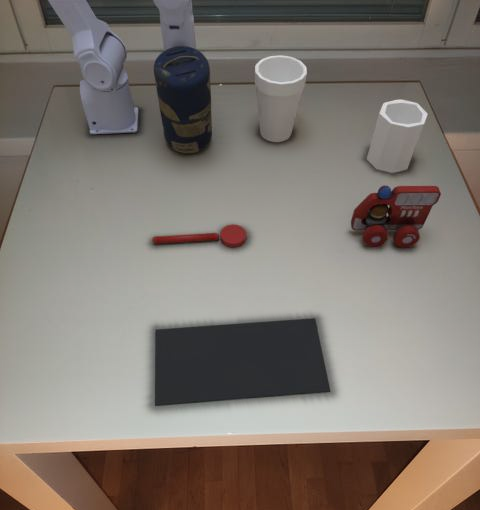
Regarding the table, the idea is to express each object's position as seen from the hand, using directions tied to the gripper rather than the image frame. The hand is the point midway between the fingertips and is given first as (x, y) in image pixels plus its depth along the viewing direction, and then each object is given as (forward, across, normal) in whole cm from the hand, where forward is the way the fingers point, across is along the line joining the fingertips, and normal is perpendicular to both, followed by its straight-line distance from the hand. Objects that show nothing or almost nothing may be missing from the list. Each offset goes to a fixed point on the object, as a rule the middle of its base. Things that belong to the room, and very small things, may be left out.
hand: (187, 114), depth 95 cm
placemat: (+3, -55, -5) cm, 55 cm away
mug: (+3, -12, -39) cm, 40 cm away
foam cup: (+3, -4, -18) cm, 18 cm away
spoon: (+3, -32, -2) cm, 32 cm away
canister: (+2, -5, 0) cm, 5 cm away
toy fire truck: (+3, -33, -32) cm, 46 cm away
